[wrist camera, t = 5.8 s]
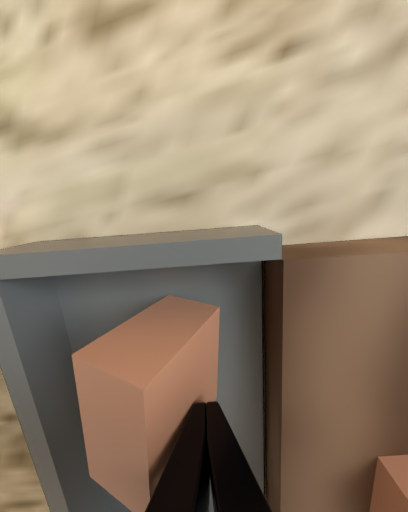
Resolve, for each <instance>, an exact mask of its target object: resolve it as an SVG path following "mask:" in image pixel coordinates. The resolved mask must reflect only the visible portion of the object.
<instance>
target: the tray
mask: <svg viewBox="0 0 408 512" xmlns="http://www.w3.org/2000/svg"><path fill="white" fill-rule="evenodd" d="M279 259H282V234H280V233H277V232H275V231H272V230H269V229H266V228H264V227H261V226H258V225H254V226H241V227H227V228H214V229H200V230H187V231H174V232H160V233H147V234H133V235H120V236H107V237H93V238H80V239H66V240H53V241H40V242H32V243H28V244H23V245H19V246H14V247H10V248H5V249H1V250H0V367H1V370H2V373H3V376H4V379H5V382H6V385H7V387H8V390H9V393H10V396H11V399H12V402H13V405H14V408H15V411H16V414H17V416H18V419H19V422H20V425H21V428H22V431H23V434H24V437H25V440H26V442H27V445H28V448H29V451H30V454H31V457H32V460H33V463H34V466H35V468H36V471H37V474H38V477H39V480H40V483H41V486H42V489H43V492H44V495H45V497H46V500H47V503H48V506H49V509H50V512H132V511H131V510H130V509H128V508H127V507H126V506H125V505H124V504H122V503H121V502H120V501H119V500H117V499H116V498H115V497H114V496H113V495H111V494H110V493H109V492H108V491H107V490H105V489H104V488H103V487H102V486H101V485H99V484H98V483H97V482H96V481H94V480H93V479H92V478H91V477H90V475H89V468H88V461H87V455H86V448H85V441H84V435H83V428H82V421H81V415H80V408H79V401H78V395H77V388H76V382H75V375H74V368H73V362H72V354H73V353H75V352H77V351H78V350H80V349H82V348H83V347H85V346H86V345H88V344H90V343H91V342H93V341H95V340H96V339H98V338H99V337H101V336H103V335H104V334H106V333H108V332H109V331H111V330H112V329H114V328H116V327H117V326H119V325H121V324H122V323H124V322H125V321H127V320H129V319H130V318H132V317H133V316H135V315H137V314H138V313H140V312H142V311H143V310H145V309H146V308H148V307H150V306H151V305H153V304H155V303H156V302H158V301H159V300H161V299H163V298H164V297H166V296H168V295H172V296H176V297H180V298H185V299H189V300H193V301H198V302H202V303H206V304H211V305H215V306H219V307H220V316H219V346H218V376H217V398H216V400H215V401H218V403H219V404H220V407H221V409H222V411H223V413H224V415H225V417H226V419H227V421H228V423H229V425H230V427H231V429H232V431H233V433H234V435H235V437H236V439H237V441H238V443H239V445H240V447H241V449H242V451H243V453H244V455H245V457H246V459H247V461H248V463H249V465H250V467H251V469H252V471H253V474H254V476H255V478H256V480H257V482H258V484H259V486H260V488H261V490H262V492H263V494H264V461H263V380H262V298H261V261H265V260H279ZM209 512H214V509H213V501H212V493H211V483H210V501H209Z"/></svg>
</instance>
